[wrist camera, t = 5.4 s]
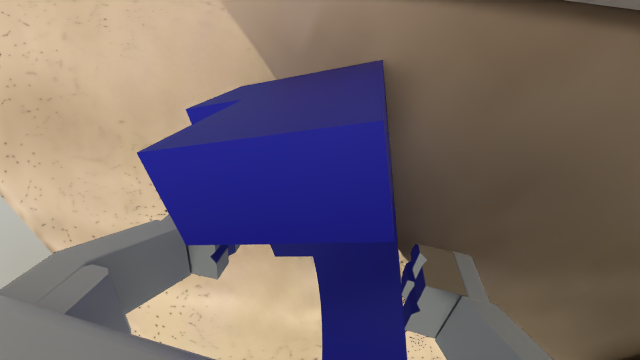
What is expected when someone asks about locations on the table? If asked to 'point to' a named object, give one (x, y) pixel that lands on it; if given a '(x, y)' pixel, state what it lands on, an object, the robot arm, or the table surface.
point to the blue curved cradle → (299, 193)
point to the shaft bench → (614, 3)
